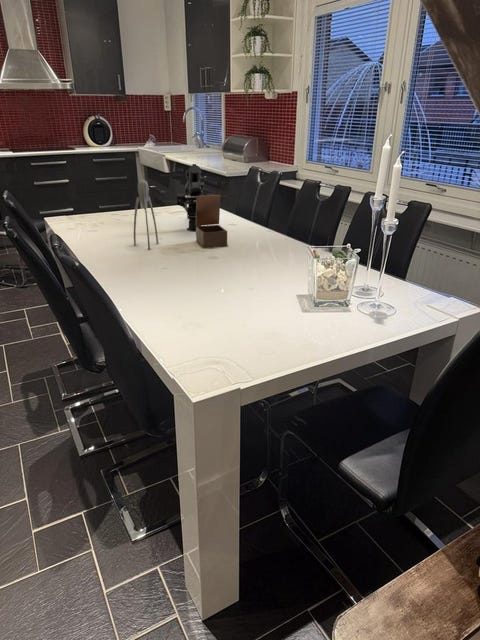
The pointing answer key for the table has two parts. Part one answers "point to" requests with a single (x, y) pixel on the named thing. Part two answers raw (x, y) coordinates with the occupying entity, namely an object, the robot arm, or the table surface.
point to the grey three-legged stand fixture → (143, 199)
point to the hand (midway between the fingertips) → (196, 211)
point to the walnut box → (211, 236)
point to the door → (207, 210)
